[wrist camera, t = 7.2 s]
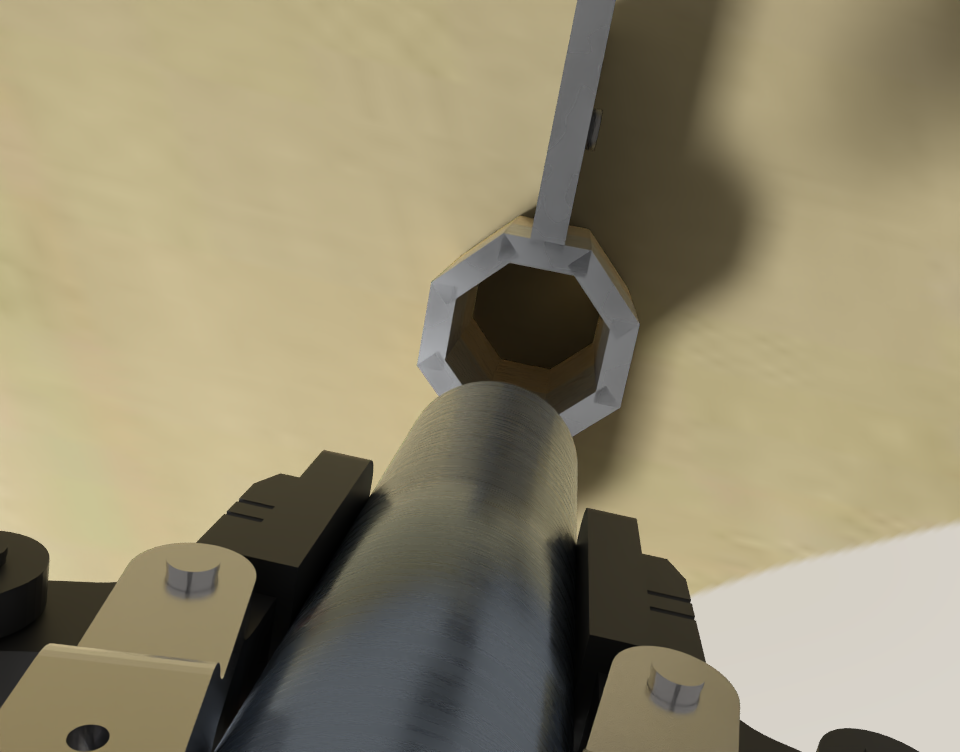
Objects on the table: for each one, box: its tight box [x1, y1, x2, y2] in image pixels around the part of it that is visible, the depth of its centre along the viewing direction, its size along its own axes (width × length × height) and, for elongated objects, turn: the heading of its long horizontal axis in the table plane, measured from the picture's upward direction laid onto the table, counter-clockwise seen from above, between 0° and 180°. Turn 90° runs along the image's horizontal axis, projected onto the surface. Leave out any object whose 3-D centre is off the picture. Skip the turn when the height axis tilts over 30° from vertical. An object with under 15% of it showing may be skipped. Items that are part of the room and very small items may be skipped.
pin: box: [214, 381, 578, 752], centre depth 11 cm, size 3×3×12 cm
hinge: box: [417, 0, 640, 437], centre depth 30 cm, size 20×6×7 cm, turn 169°
